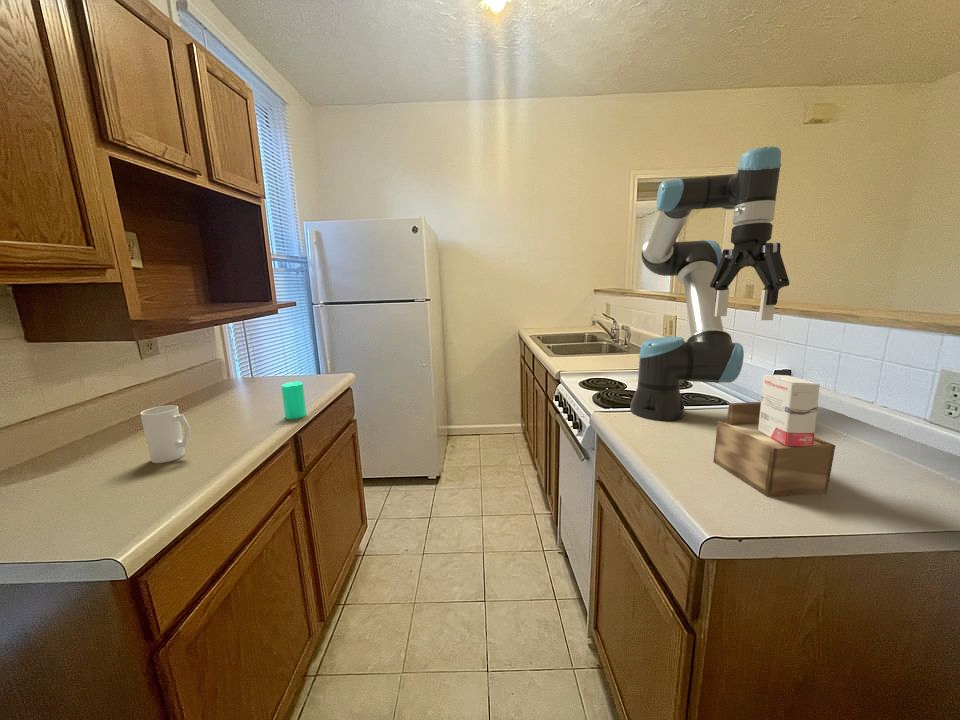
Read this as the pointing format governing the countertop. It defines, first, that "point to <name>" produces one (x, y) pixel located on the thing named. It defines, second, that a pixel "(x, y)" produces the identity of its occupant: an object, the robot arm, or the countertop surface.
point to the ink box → (789, 409)
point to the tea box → (774, 463)
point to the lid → (750, 421)
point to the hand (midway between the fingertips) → (741, 318)
